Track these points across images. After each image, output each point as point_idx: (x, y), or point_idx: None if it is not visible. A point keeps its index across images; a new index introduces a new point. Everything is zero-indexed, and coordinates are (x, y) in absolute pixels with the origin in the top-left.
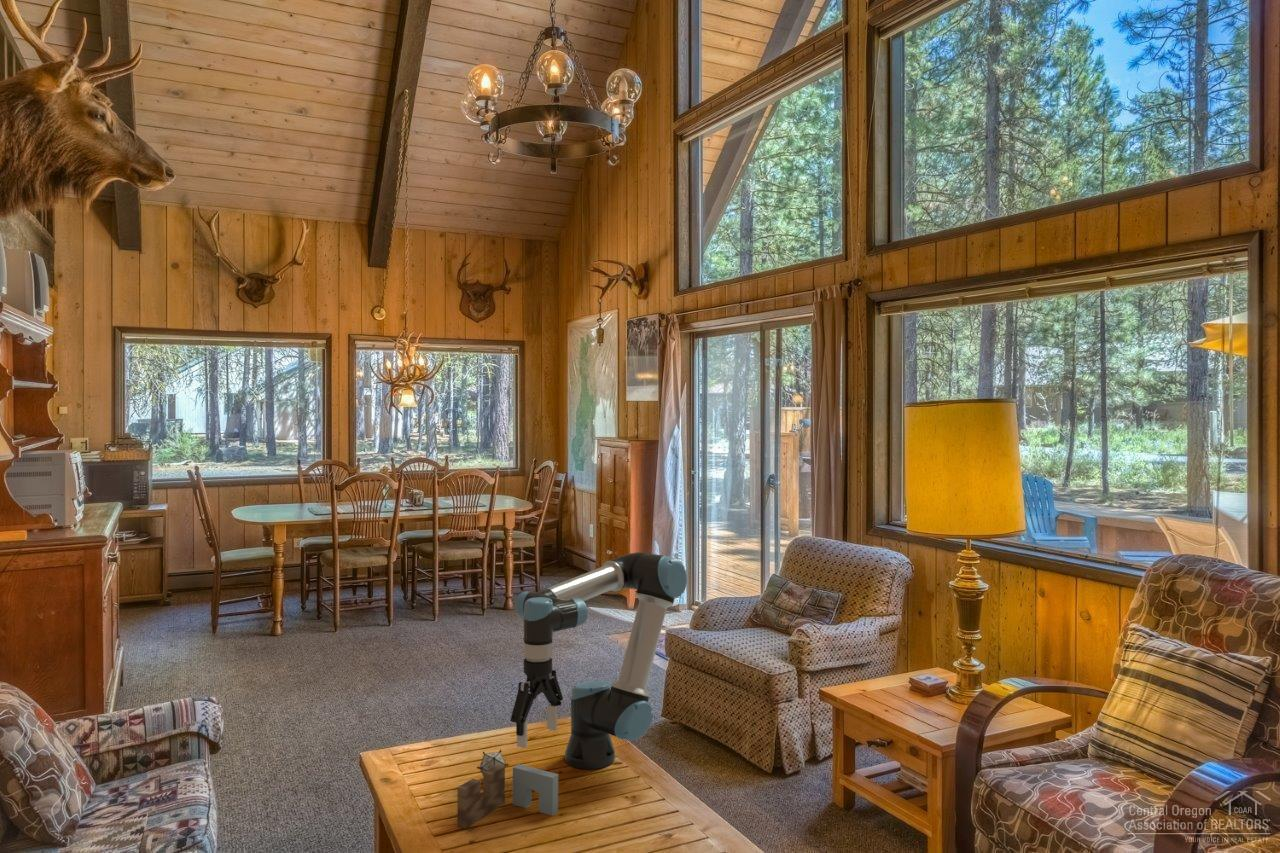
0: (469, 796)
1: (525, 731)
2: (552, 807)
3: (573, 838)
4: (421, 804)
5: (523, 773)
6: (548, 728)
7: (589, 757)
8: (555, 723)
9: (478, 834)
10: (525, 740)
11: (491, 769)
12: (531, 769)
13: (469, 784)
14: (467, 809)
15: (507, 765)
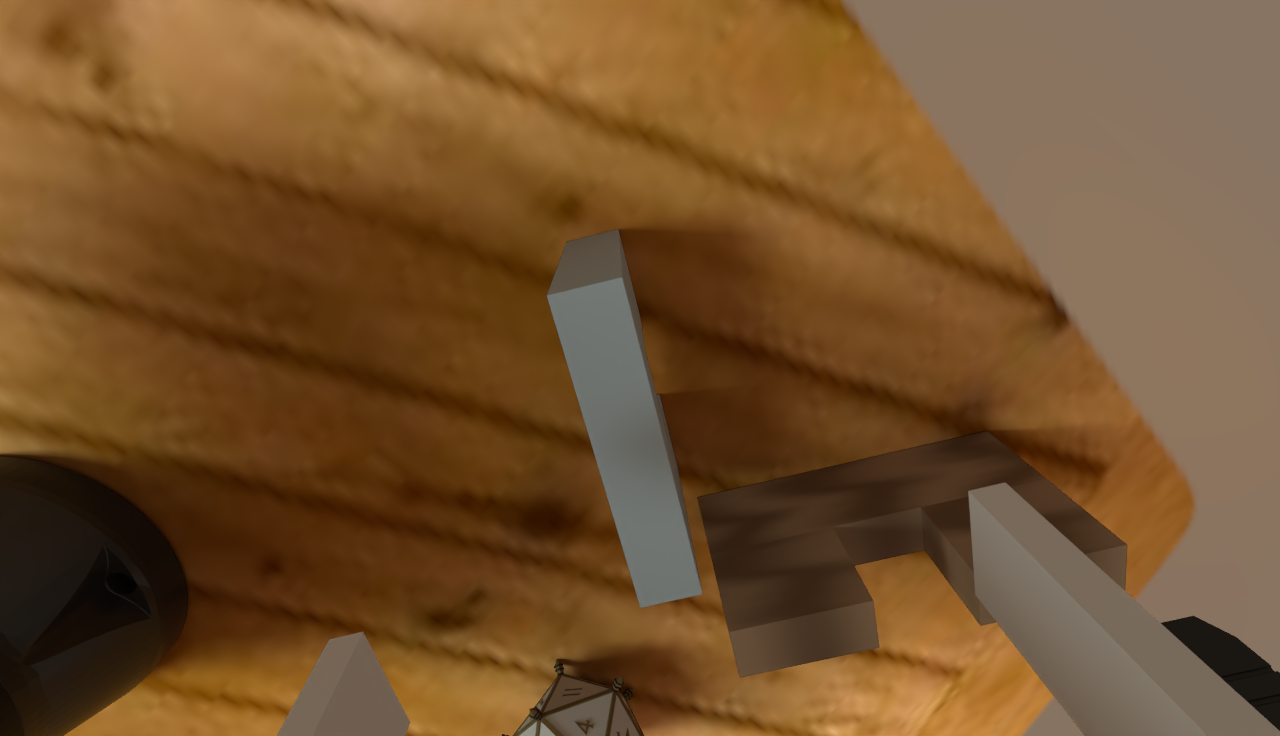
0: (1047, 518)
1: (1182, 648)
2: (618, 238)
3: None
4: (930, 699)
5: (681, 506)
6: (399, 717)
7: (60, 535)
8: (323, 714)
9: (991, 348)
10: (1072, 544)
11: (817, 648)
12: (637, 491)
13: None
14: (1020, 478)
15: (537, 709)
